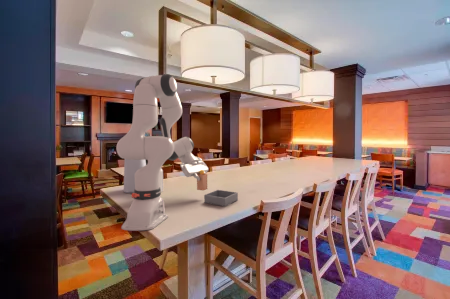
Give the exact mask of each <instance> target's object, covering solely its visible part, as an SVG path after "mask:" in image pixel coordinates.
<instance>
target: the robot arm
mask: <svg viewBox="0 0 450 299" xmlns="http://www.w3.org/2000/svg"><path fill="white" fill-rule="evenodd" d="M177 90H178V83H177V80H176V79H175V78H174V76H173V75H172V74H166V73H165V74H158V75H151V76H146V77H142V78H140V79H138V80H137V81H136V82H135V85H134V94H133V100H132V101H133V102H132V103H133V104H132V106H133V107H132V108H133V109H132V121H131V122H132V123H131V126H130V129H129V130H128V132H126V134H125V135H123V137H121V138H120V139H119V140H118V141H117V144H116V146H115V147H116V153H117V155H118V157H119V158H121V159H124V160H125V159H129V160H146V161H147V163H146V166H144V167H142V168H140V169H138V170H137V171H136V173H135V190H134V193H131V198H133V200H132V201H131V204H130V206H129V209H128V210H127V215H126V216H127V217H126V219H125V221H124V222H123V224H122V225H121V227H120V228H121V230H124V231H133V232H134V231H136V232H137V231H149V230H152V229H155V228H156V227H157V226H159V225H161V223H163V222H164V221H165V220H166V219H167V218H169V215H168V214H167V213H166V212H165V211H166V210H165V201H164V198H162V196H161V195H162V194H161V193H162V192H161V190H160V187H159V177H160V170H161V169H162V167H163V165H164V164H165V162H166V161H168V160H169V161H176V160H177V159H178V160H180V162H181V164H179V166H180V169H181V171H182V173H183V175H184V177H186V178H190V177H193V178H194V179H196V181H197V180H198V181H199V180H201V177H199V176H198V175H197V174H200V173H199V172H200V170H203V171H204V173H205V174H207V172H209V171H210V170H209V169H210V168H209V167H208V166H207V163H205V162H204V161H203V159H202V158H201V157H199V156H195V155H194V154H193V153H192V152H193V149H194V147H195V143H194V141H193V140H192V138H190V137H188V136H184V137H181V138H179V139H177V140H175V141H173V140H172V138H171V137H172V136H171V129H172V127H173V126H174V125H175V123H177V122H178V121H179V119H180V118H181V117H182V115H183V106H182V103H181V100H180V96H179V94H178V92H177ZM158 99H159V104H160V107H161V111H162V114H161V118H160V120H159V111H158V110H159V108H158ZM158 122H159V126H160V133H161V135H158V136H157V135H156V136H155V135H154V136H152V135H147V136H146V133H147V132H148V131H149V130H152V129H153V128H155V127H156V126H157V125H158Z"/></svg>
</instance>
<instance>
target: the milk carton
mask: <svg viewBox="0 0 450 299" xmlns="http://www.w3.org/2000/svg"><path fill="white" fill-rule="evenodd" d="M159 187H160V190H161V193H163V192H164V170H163V168H161V170H160V177H159Z"/></svg>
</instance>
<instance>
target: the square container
mask: <svg viewBox="0 0 450 299" xmlns="http://www.w3.org/2000/svg"><path fill="white" fill-rule="evenodd" d="M197 175H198V176H199V177H201V180H199V181H198V180H197V179H196V190H197V191H205V190H208V174H207V173H204V174H203V175H202V174H197Z"/></svg>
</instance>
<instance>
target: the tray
mask: <svg viewBox="0 0 450 299" xmlns="http://www.w3.org/2000/svg"><path fill="white" fill-rule="evenodd" d="M238 193H239V192H236V191H230V190H223V189H216V190H213V191H210V192H208V193H205V194H204V195H203V196H204V200H203V201H204V202H203V203H204V204H210V205H215V206H220V207H228V206H229V205H231V204H233V203H235V202H237V201H239V198H238V197H239V196H238V195H239V194H238Z"/></svg>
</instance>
